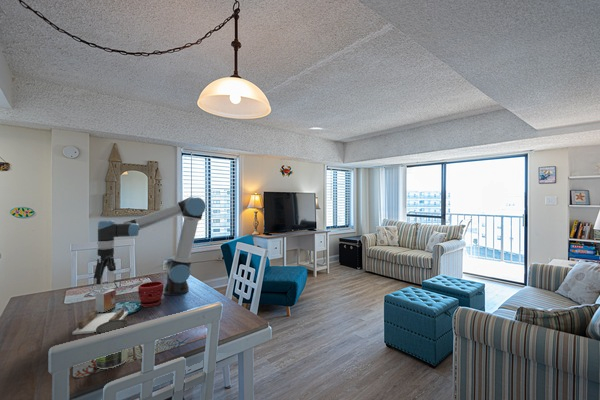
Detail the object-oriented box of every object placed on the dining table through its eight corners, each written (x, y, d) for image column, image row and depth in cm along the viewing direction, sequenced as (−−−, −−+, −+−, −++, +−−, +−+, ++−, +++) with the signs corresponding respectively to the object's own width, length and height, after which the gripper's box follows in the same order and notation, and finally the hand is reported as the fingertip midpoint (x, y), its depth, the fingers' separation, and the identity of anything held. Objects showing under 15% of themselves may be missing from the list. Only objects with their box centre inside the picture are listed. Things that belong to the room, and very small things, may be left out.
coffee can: (108, 372, 99) (108, 334, 99) (89, 366, 103) (89, 328, 103) (134, 357, 109) (134, 321, 109) (116, 351, 112) (116, 317, 112)
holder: (94, 316, 146) (94, 308, 146) (128, 313, 149) (128, 306, 149) (72, 334, 126) (72, 325, 126) (111, 331, 130) (111, 322, 130)
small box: (103, 313, 149) (103, 294, 149) (95, 312, 151) (95, 293, 150) (116, 307, 157) (116, 289, 157) (108, 306, 158) (108, 288, 158)
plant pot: (168, 301, 167) (168, 281, 167) (150, 309, 154) (150, 288, 154) (151, 298, 171) (151, 279, 171) (132, 306, 159) (132, 286, 158)
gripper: (108, 244, 165) (107, 279, 165) (86, 252, 141) (85, 293, 141) (122, 244, 167) (121, 279, 167) (102, 252, 142) (102, 293, 142)
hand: (105, 286), depth 154 cm, fingers open, 13 cm apart
